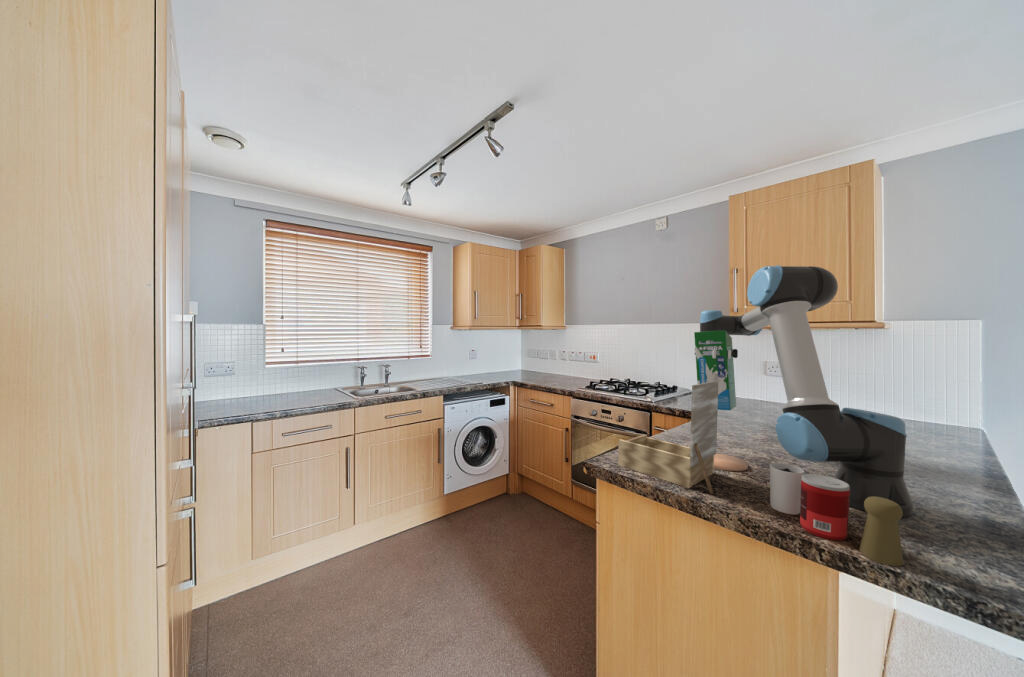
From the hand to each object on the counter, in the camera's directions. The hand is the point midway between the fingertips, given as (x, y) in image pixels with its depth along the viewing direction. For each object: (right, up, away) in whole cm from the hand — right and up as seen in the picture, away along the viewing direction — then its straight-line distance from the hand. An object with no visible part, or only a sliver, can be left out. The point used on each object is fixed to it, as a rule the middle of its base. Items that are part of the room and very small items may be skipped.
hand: (722, 354), depth 115 cm
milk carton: (+2, -18, +5) cm, 19 cm away
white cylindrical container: (+1, -37, -25) cm, 44 cm away
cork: (+5, -37, -44) cm, 58 cm away
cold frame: (-16, -36, -3) cm, 39 cm away
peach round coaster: (+3, -36, +5) cm, 36 cm away
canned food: (+1, -37, -35) cm, 51 cm away
